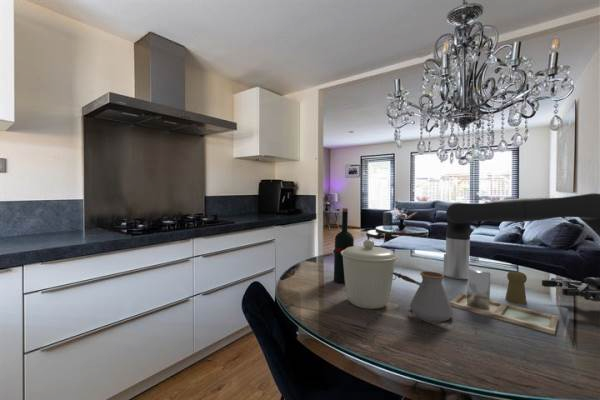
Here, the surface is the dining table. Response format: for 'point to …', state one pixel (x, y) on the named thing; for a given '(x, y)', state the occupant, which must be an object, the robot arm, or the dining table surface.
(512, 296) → the olive brown pepper mill
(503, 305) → the wooden tray
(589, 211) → the robot arm
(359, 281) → the canister
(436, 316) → the coffee pot
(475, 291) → the clear glass tumbler
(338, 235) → the wine bottle
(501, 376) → the dining table surface
